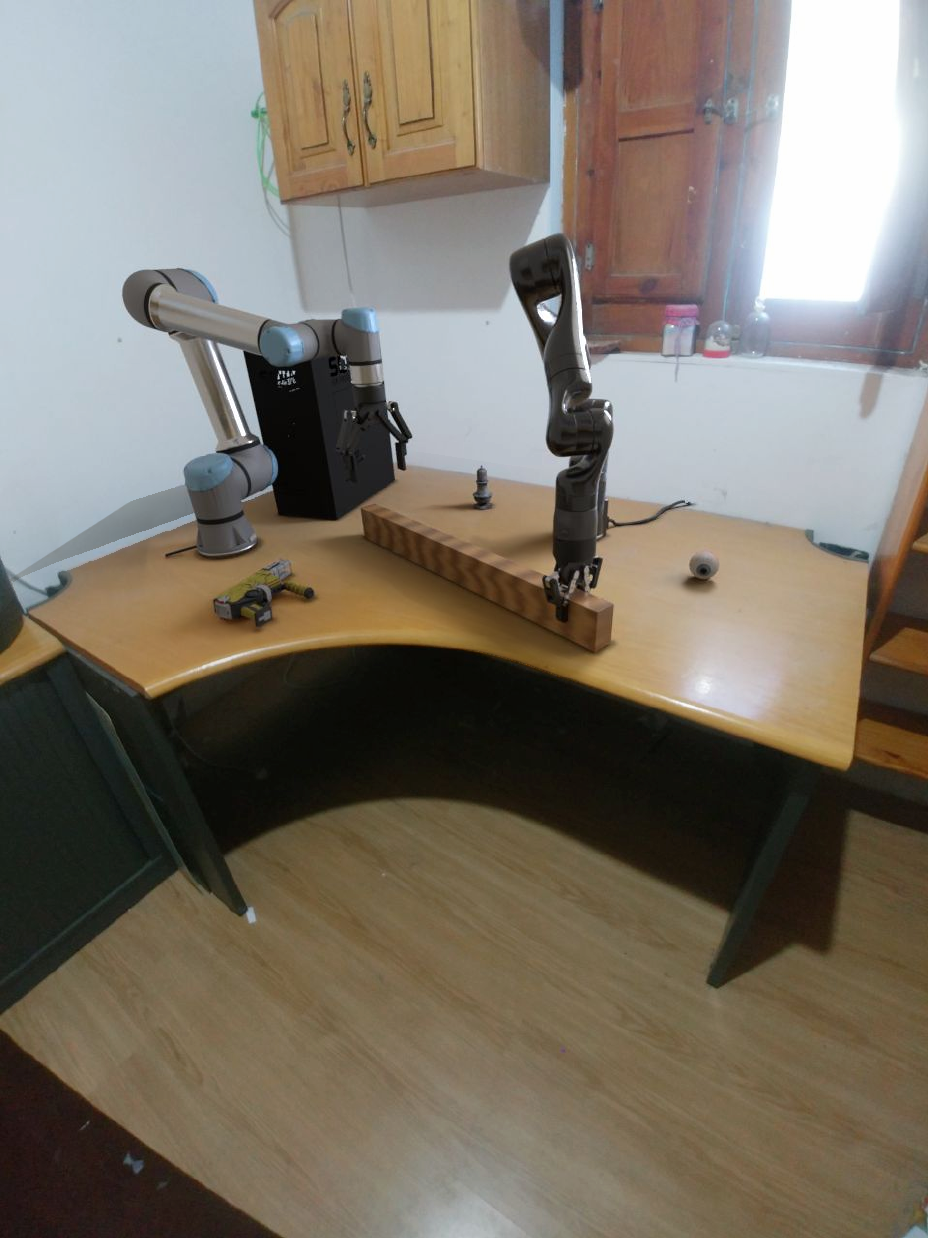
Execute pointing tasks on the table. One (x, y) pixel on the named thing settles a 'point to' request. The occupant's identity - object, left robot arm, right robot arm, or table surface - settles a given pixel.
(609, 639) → the bar
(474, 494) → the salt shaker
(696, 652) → the table surface
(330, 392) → the cardboard box
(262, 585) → the toy gun
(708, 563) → the eyeball
